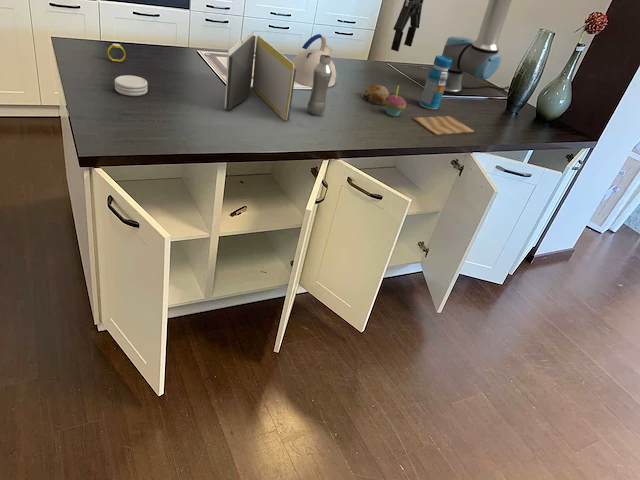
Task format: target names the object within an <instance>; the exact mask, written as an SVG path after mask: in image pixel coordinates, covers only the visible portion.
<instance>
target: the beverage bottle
mask: <svg viewBox="0 0 640 480" xmlns="http://www.w3.org/2000/svg"><path fill="white" fill-rule="evenodd" d="M451 63H452V59H450V58H448V57H445V56H442V55H435V57H434V61H433V66H432V68H430V70H429V71H428V76H427V77H426V79H425V84H424V87H423V90H422V93H421V97H420V100H419V105H420V107H423V108H424V109H428V110H432V111H433V110H438V109H439V107H440V104H441V100H442V98H443V95H444V93H445V92H444V89H445V87H446V85H447V79H448V78H449V73H448V69H449V68H450V66H451Z"/></svg>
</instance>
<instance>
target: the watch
mask: <svg viewBox="0 0 640 480" xmlns="http://www.w3.org/2000/svg"><path fill="white" fill-rule="evenodd" d="M112 48H117V49H120V50H122V52H123V56H122V58H120V59H115V58H113V57H112V56H111V55H110V51H111V50H112ZM107 56H108V58H109V60H111V61H112V62H118V63H122V62H123V61H124V60H125V59H126V56H127V55H126V51H125V49H124V48H123V46H122V45H121V44H120V43H112V44H111V45H109V47H108V48H107Z"/></svg>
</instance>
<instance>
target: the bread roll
mask: <svg viewBox="0 0 640 480" xmlns="http://www.w3.org/2000/svg"><path fill="white" fill-rule="evenodd" d="M387 96H390V91H389V90H388V88H386V87H385V86H384V85H381V84H374V85H371V86H369V87H368V88H366V89H365V91H364V94H363V97H364V99H365V101H367V102H369V103H371V104H374V105H378V106H379V105H380V106H384V105H385V106H386V104H385V98H386V97H387Z"/></svg>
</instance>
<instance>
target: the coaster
mask: <svg viewBox="0 0 640 480" xmlns="http://www.w3.org/2000/svg"><path fill="white" fill-rule="evenodd" d="M148 84H149V83H148V81H147V80H146V79H145V78H143V77H140V76H137V75H119V76H117V77H116V78H115V79H114V89H115V91H116V92H117V93H118V94H120V95H122V96H128V97H141V96H144V95H146V94H147V93H148V91H149V89H148V87H149V86H148Z"/></svg>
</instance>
